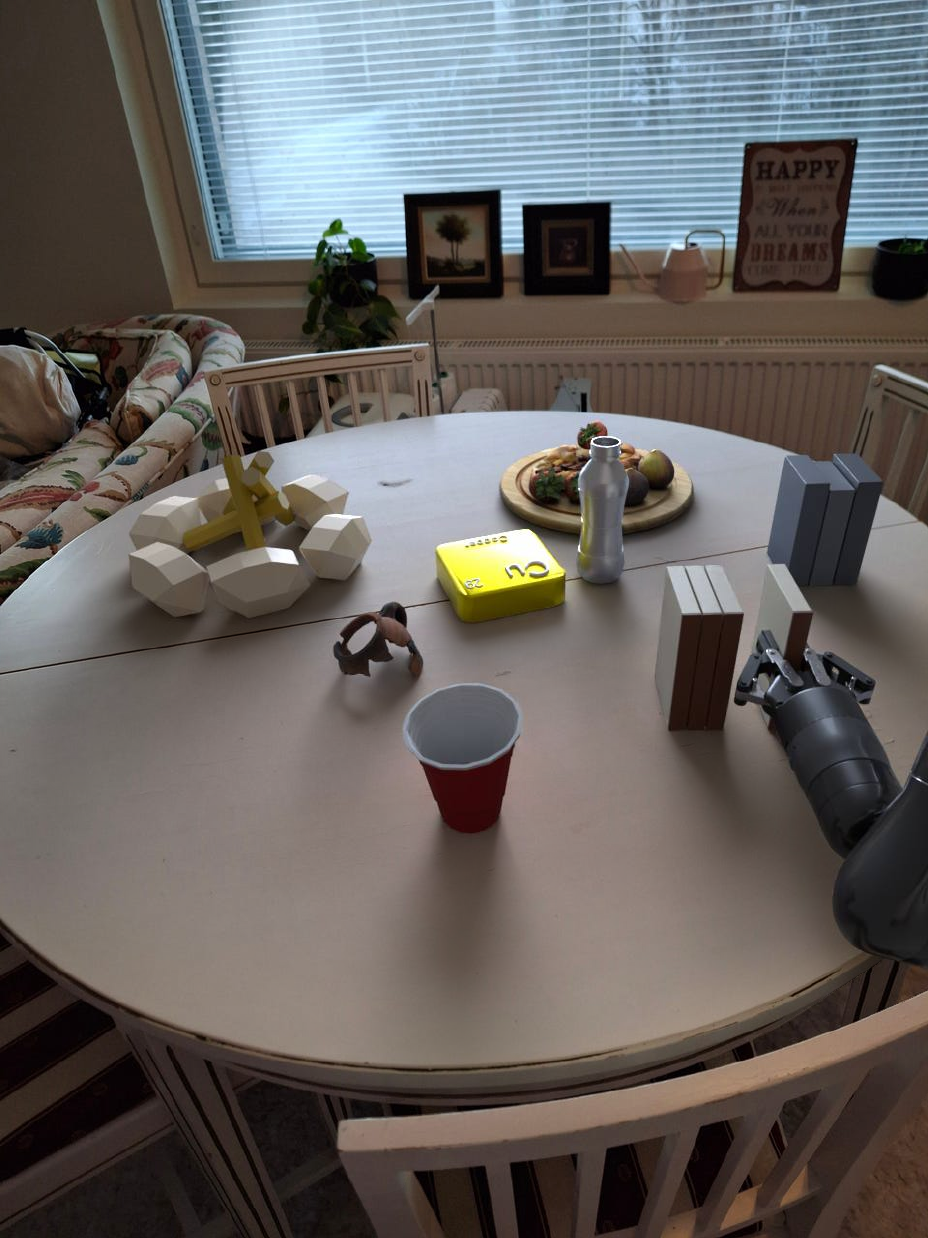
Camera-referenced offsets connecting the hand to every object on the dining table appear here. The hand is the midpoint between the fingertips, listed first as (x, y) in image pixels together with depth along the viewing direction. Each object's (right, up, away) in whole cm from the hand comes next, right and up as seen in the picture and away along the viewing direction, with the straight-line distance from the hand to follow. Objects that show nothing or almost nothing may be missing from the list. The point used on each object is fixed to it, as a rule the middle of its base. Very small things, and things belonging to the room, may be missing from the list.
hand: (776, 636), depth 85 cm
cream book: (0, -7, +4) cm, 9 cm away
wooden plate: (-11, +23, +50) cm, 56 cm away
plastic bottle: (-14, +8, +28) cm, 32 cm away
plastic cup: (-33, -17, -7) cm, 37 cm away
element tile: (-28, +6, +27) cm, 39 cm away
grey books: (+15, +9, +27) cm, 32 cm away
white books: (-8, -7, +5) cm, 12 cm away
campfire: (-65, +10, +36) cm, 75 cm away
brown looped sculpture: (-43, -4, +14) cm, 45 cm away
